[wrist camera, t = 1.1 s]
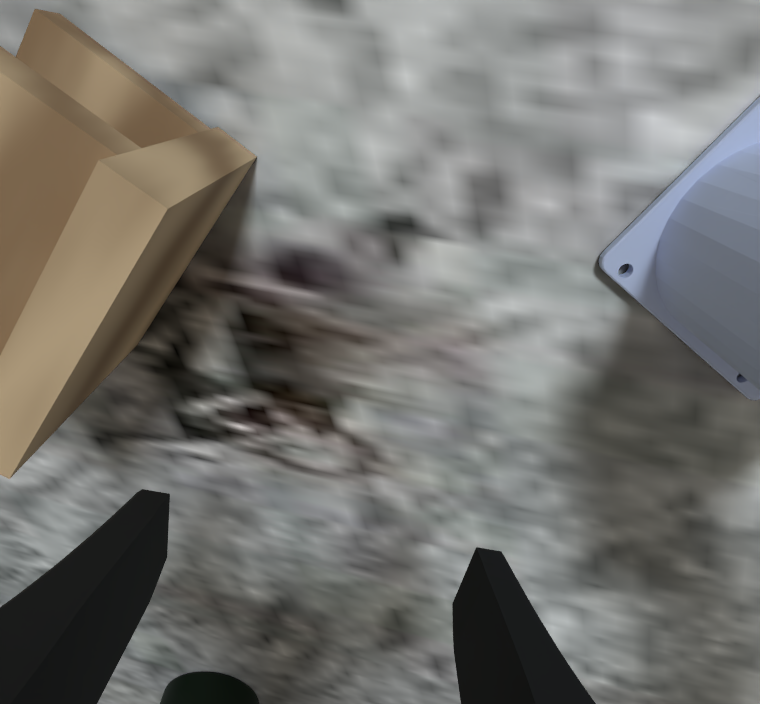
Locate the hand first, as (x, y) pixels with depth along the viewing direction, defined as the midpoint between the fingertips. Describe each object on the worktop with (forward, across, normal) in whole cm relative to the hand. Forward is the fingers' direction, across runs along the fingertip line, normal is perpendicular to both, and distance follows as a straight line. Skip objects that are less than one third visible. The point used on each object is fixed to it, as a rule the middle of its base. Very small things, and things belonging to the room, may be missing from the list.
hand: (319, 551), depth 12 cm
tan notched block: (+10, +12, -6) cm, 17 cm away
